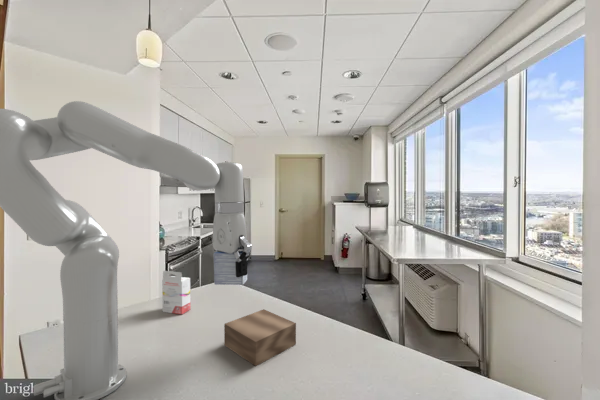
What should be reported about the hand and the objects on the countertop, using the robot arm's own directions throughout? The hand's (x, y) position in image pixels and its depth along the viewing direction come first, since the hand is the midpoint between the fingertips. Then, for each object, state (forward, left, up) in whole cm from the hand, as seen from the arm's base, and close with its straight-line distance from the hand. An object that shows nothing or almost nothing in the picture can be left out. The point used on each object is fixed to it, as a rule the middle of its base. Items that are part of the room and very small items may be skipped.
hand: (231, 272), depth 77 cm
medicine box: (0, 0, -3) cm, 3 cm away
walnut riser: (+7, -4, -21) cm, 22 cm away
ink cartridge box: (+1, +36, -21) cm, 42 cm away
